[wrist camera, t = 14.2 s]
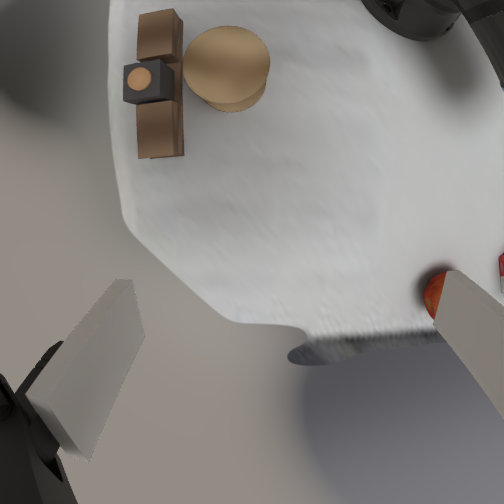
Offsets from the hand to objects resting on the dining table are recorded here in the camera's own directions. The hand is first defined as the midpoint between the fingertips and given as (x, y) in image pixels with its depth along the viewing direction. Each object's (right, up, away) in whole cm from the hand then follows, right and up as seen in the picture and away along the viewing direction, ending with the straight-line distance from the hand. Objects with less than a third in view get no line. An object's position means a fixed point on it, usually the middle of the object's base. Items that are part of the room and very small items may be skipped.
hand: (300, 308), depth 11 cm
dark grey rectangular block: (-13, +21, +19) cm, 32 cm away
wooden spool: (-4, +22, +20) cm, 30 cm away
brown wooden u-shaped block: (-12, +22, +20) cm, 32 cm away
